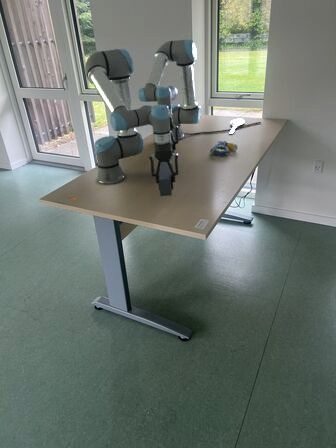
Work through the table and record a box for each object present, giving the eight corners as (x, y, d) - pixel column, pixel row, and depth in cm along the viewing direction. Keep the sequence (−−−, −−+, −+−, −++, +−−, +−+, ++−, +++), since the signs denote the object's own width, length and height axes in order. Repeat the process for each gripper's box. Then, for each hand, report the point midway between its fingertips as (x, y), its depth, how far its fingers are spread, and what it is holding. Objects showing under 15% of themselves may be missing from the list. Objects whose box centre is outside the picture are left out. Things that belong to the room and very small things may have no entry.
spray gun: (240, 146, 220) (218, 145, 226) (240, 140, 217) (218, 139, 224) (230, 158, 204) (207, 156, 211) (230, 151, 202) (207, 150, 208)
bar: (164, 152, 207) (163, 139, 202) (173, 152, 206) (172, 138, 202) (160, 196, 156) (158, 179, 152) (171, 195, 156) (170, 178, 151)
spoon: (237, 136, 244) (237, 133, 243) (223, 136, 248) (223, 133, 247) (246, 120, 270) (246, 118, 269) (232, 120, 274) (232, 117, 273)
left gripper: (141, 145, 146) (146, 193, 159) (183, 143, 145) (185, 191, 158) (142, 140, 152) (148, 186, 165) (182, 137, 151) (185, 184, 164)
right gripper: (148, 119, 186) (153, 158, 198) (181, 116, 184) (184, 156, 197) (149, 115, 192) (154, 154, 204) (181, 113, 191) (183, 152, 203)
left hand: (166, 188), depth 161 cm, fingers closed on bar, 5 cm apart
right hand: (168, 155), depth 201 cm, fingers closed on bar, 5 cm apart
